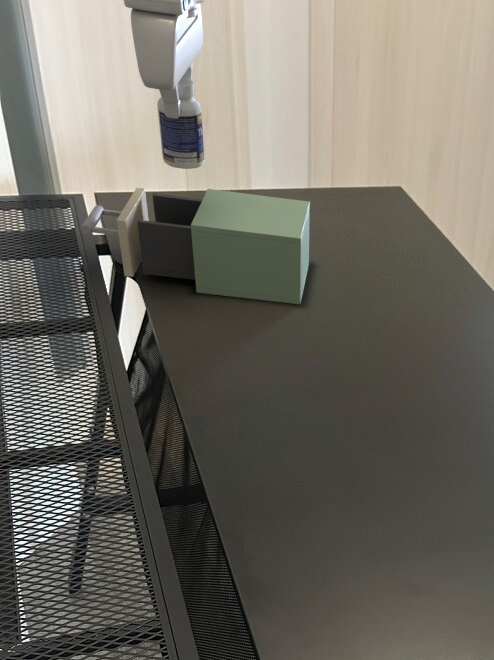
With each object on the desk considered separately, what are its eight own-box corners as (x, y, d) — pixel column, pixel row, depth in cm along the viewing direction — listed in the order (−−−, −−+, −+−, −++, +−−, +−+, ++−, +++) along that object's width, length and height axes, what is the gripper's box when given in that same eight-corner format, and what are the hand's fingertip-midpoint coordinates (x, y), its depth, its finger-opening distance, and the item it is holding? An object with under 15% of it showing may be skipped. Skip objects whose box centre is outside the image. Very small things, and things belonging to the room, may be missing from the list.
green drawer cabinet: (196, 292, 121) (190, 224, 114) (211, 253, 129) (207, 188, 123) (300, 304, 122) (300, 238, 115) (308, 265, 131) (309, 201, 124)
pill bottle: (209, 169, 113) (204, 87, 106) (168, 171, 111) (160, 87, 104) (199, 154, 116) (193, 73, 110) (158, 155, 114) (150, 73, 107)
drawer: (82, 271, 119) (71, 214, 113) (103, 236, 127) (95, 182, 121) (222, 287, 121) (219, 232, 115) (235, 252, 129) (232, 199, 123)
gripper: (159, -45, 106) (170, 80, 116) (117, -8, 92) (134, 131, 102) (211, -37, 107) (217, 87, 117) (177, 1, 93) (188, 138, 102)
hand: (178, 108), depth 109 cm, fingers closed on pill bottle, 5 cm apart
